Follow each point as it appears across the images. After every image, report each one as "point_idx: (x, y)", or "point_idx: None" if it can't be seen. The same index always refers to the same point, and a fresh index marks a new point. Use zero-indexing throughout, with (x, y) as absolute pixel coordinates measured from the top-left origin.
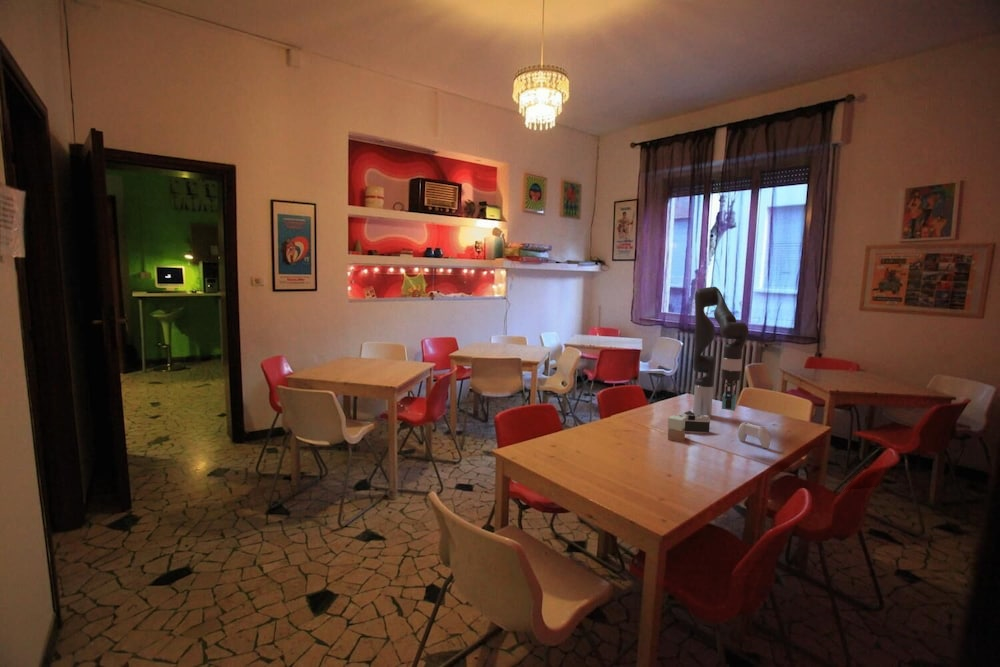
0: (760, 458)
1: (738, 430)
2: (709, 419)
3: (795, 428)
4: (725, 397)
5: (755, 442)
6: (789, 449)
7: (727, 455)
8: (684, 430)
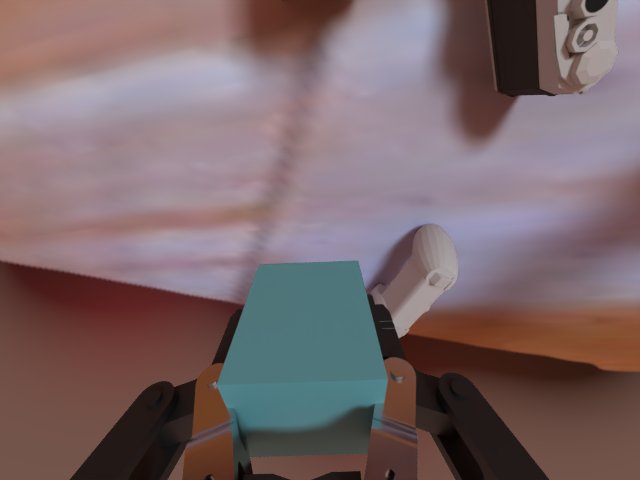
0: None
1: (430, 239)
2: (562, 91)
3: (636, 330)
4: (131, 408)
5: None
6: None
7: (230, 210)
8: None
